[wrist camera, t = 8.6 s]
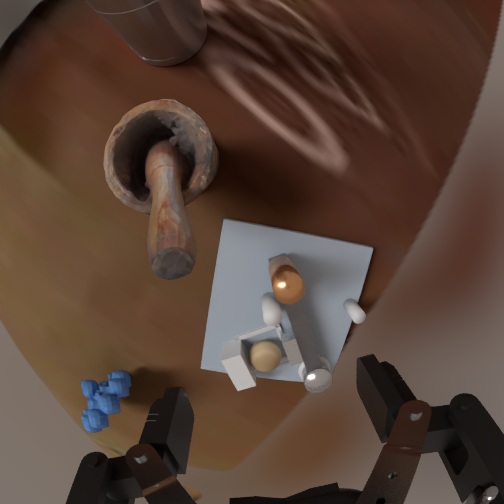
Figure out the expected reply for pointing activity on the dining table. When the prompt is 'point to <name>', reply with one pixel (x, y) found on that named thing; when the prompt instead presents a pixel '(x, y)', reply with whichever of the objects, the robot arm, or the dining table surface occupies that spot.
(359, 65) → the dining table surface
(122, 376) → the blue lumpy cluster
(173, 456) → the robot arm
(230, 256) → the nutcracker base
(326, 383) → the lever
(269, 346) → the hazelnut
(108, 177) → the mortar and pestle
